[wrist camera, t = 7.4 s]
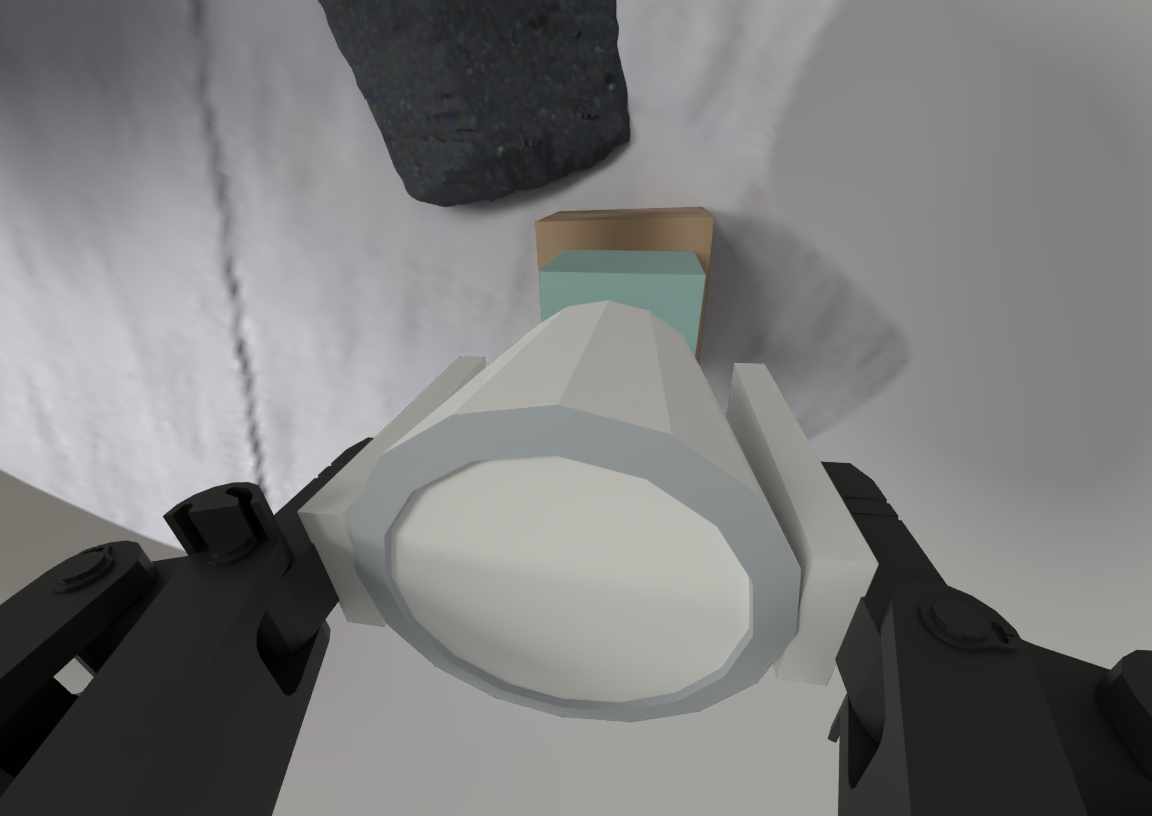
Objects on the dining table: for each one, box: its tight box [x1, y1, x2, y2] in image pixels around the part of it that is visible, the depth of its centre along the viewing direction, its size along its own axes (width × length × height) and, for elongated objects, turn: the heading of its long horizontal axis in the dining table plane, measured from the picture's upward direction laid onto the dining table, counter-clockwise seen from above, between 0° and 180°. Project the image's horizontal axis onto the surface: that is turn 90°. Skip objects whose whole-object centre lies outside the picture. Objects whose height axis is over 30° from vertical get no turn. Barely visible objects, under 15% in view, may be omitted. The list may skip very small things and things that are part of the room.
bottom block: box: [535, 207, 714, 364], centre depth 24 cm, size 8×8×6 cm
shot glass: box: [350, 300, 801, 722], centre depth 10 cm, size 7×7×7 cm
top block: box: [539, 250, 706, 357], centre depth 19 cm, size 6×6×5 cm
